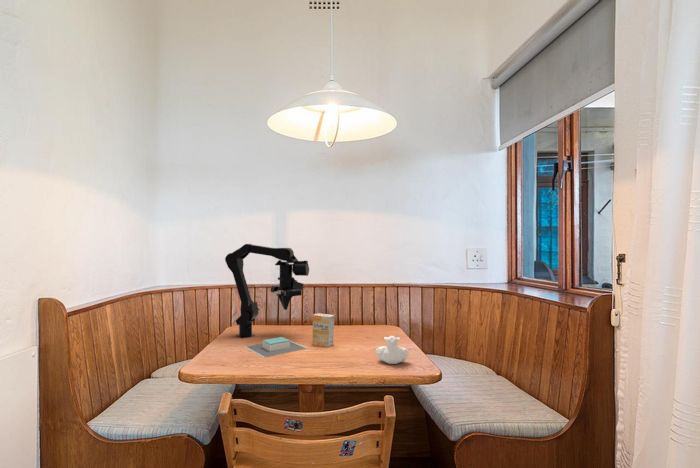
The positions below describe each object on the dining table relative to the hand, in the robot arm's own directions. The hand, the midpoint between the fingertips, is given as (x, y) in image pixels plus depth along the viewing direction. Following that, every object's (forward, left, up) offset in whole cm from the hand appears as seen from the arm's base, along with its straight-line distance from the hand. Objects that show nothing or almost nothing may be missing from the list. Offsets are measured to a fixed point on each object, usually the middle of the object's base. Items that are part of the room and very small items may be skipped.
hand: (285, 309), depth 170 cm
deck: (+9, -11, -11) cm, 18 cm away
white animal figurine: (+54, +14, -13) cm, 57 cm away
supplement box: (+20, +7, -13) cm, 25 cm away
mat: (+12, -11, -13) cm, 21 cm away
